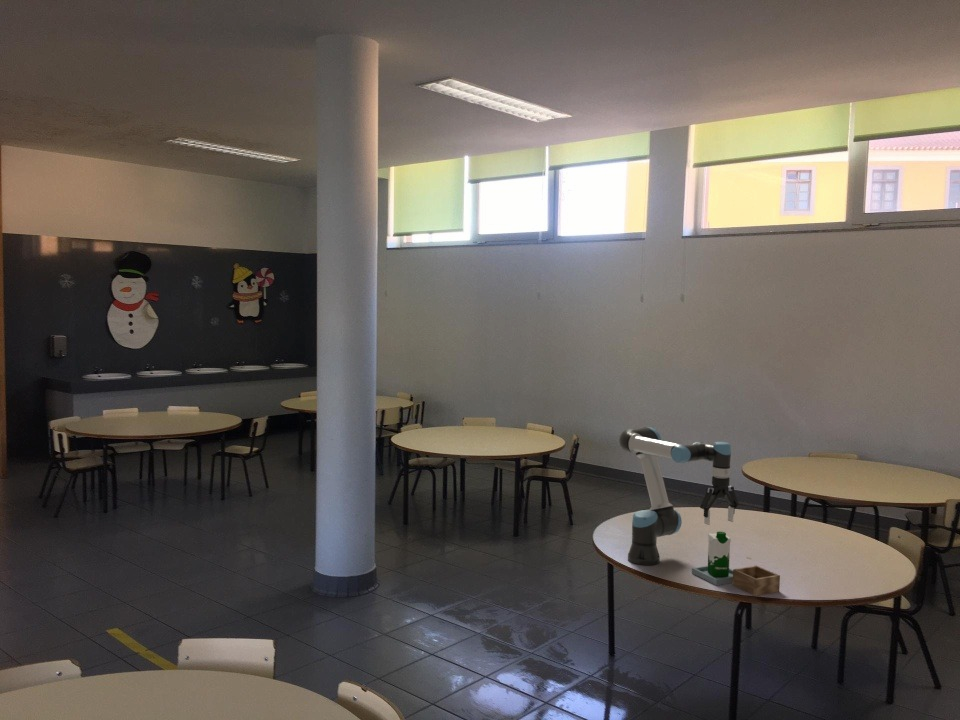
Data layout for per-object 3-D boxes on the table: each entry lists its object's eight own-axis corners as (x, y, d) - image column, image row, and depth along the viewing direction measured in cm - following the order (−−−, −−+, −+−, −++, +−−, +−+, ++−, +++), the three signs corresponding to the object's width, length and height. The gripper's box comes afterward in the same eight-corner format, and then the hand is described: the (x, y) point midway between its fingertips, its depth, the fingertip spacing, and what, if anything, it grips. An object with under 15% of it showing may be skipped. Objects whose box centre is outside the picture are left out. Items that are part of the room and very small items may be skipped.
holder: (755, 595, 305) (756, 579, 304) (732, 584, 317) (733, 569, 317) (779, 591, 310) (779, 575, 310) (755, 580, 323) (756, 565, 322)
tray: (716, 585, 316) (716, 579, 316) (691, 573, 331) (692, 568, 331) (744, 580, 323) (744, 575, 323) (719, 569, 337) (719, 563, 337)
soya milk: (712, 578, 322) (713, 534, 321) (704, 571, 331) (706, 528, 330) (731, 578, 323) (732, 534, 322) (723, 571, 332) (725, 528, 331)
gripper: (704, 480, 316) (702, 527, 317) (748, 476, 326) (746, 522, 327) (693, 476, 323) (691, 523, 324) (736, 472, 333) (734, 517, 334)
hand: (718, 522), depth 326 cm, fingers open, 13 cm apart
